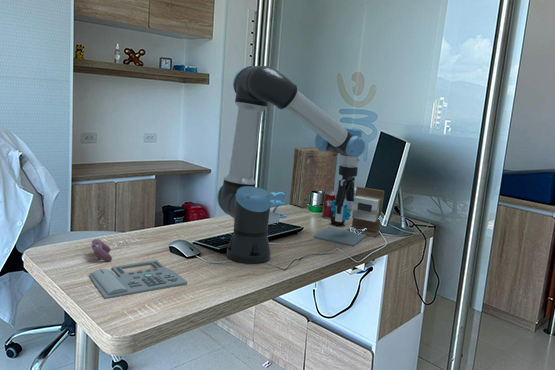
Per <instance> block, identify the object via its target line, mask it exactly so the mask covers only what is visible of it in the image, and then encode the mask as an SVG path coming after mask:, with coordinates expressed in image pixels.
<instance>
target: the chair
mask: <svg viewBox="0 0 555 370" xmlns="http://www.w3.org/2000/svg"><path fill="white" fill-rule="evenodd" d="M268 193H269V195H270V196H272V197H273V198H274V199H271V197H270V206H272V205H273V206H275V207H274V209H273V210H272V211H271V210H270V211H269V212H273V213H276V211H277V210H278V208H279V206H280V205H286V204H287V203H286V202H285V199H286V194H285V193H284V192H283V191H279V192H275V191H272V192H268ZM279 197H281V198H282V200H280V199H279ZM278 214H280V219H286V218H287V215H286V214H281V213H278Z"/></svg>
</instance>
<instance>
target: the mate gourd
mask: <svg viewBox="0 0 555 370" xmlns="http://www.w3.org/2000/svg"><path fill="white" fill-rule="evenodd" d="M332 192H333V193H334V192H335V191H332ZM335 193H336V192H335ZM335 193H334V195H335ZM335 199H336V195H335ZM334 212H335V211H331V219H330V225H333V226H334V225H335V226H336V228H337V227H339V226H340V227H341V226H345V223H346V220H345V221H343V220H342V222H338V221H335V217H336V216H335V217H333V215H334V214H333V213H334ZM345 218H346V216H345ZM342 219H343V217H342Z"/></svg>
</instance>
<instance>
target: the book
mask: <svg viewBox="0 0 555 370" xmlns="http://www.w3.org/2000/svg"><path fill="white" fill-rule="evenodd" d="M293 151H294V153H293V164H292V171H291V172H292V173H291V182H290V193H289V200H288V201H289V205H290V206H291V205H293V206H297V207H301V208H302V209H306V208H307V206H306V205H307V204H309V195H310V193H311V191H314V190H316V191H322V192H332V191H333V192H335V191H334V190H335V189H334V188H335V180H336V172H337V164H338V155H339V153H335V152H332V151H321V150H318V149H317V148H316V146H315V147H313V146H312V147H294V150H293ZM306 196H307V197H306ZM304 199H305V201H304Z"/></svg>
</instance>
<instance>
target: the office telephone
mask: <svg viewBox="0 0 555 370" xmlns="http://www.w3.org/2000/svg"><path fill="white" fill-rule="evenodd" d="M145 266H152V267H153V268H151V269H146V270H138V271H135V272H134V271H133V272H128V273H127V272H126V271H125V270H124V269H131V268H136V267H137V268H139V267H145ZM89 278H90V280H91V281H92V283H93V284H94V286H95V287H96V289H97V290H98V292H99V293H100V294H101V295H102V297H103V299H104V300H106V299H107V300H108V299H113V298H119V297H124V296H129V295H136V294H142V293H146V292H153V291H158V290H162V289H169V288H176V287H181V286H187V285H188V281H187V280H186V279H185V278H183V276H180V275H179V274H178V273H177V272H175V270H173V269H171V268H167V267H166V266H164V265H163V263H161V262H160V261H159V260H158V259H157V260H156V259H155V260H148V261H147V260H146V261H140V262H135V263H127V264H121V265H115V266H111V269H106V268H99V269H96V270H94V271H93V272H91V273H89Z"/></svg>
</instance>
